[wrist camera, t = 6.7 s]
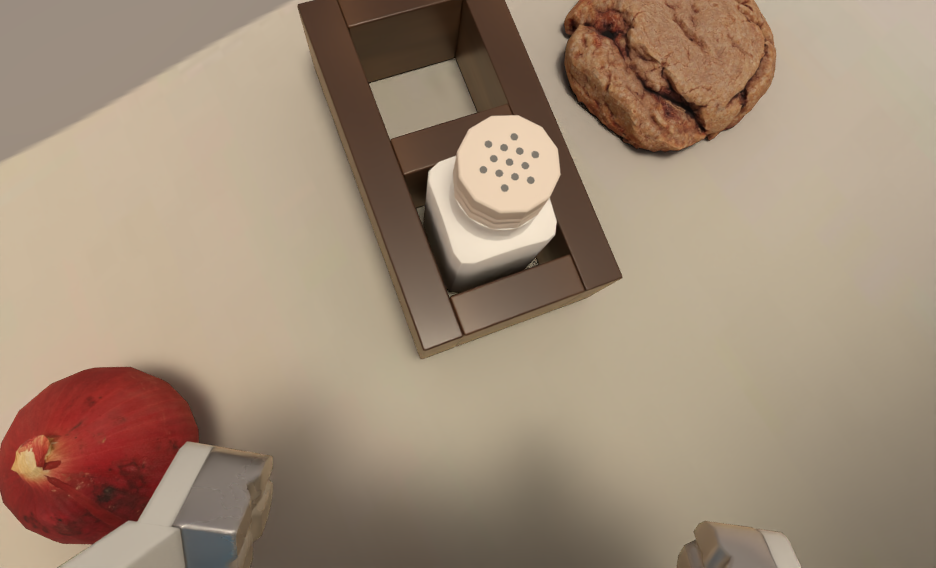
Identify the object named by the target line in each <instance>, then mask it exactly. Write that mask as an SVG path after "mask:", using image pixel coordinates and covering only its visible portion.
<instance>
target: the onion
mask: <svg viewBox="0 0 936 568" xmlns="http://www.w3.org/2000/svg"><path fill="white" fill-rule="evenodd" d="M187 441H188V442H194V443H199V431H198V427H197V425H196V422H195V420H194V417H193V415H192V412H191V410H190V407H189V405H188V403H187V402H186V401H185V400H184V399H183V398H182V397H181V396H180V395H179V393H178V392H177V391H176V390H175V389H174V388H173V387H172V386H171V385H170V384H169V383H167V382H166V381H164V380H162V379H159V378H157V377H154V376H152V375H149V374H147V373H144V372H142V371H139V370H137V369H134V368H132V367H100V368H91V369H87V370H83V371H81V372H78V373H76V374H73V375H71V376H69V377H66V378H64V379H62V380H59V381H57V382H55V383H52V384H51V385H49V386H48V387H47V388H45V389H44V390H43V391H42V392H41V393H39V394H38V395H37V396H36V397H35V398H34V399H32V400H31V401H30V402H29V403H28V404H27V405H25V406H24V407H23V408H22V409H21V410H20V411H19V412H18V414H17V415H16V417H15V419H14V421H13V423H12V424H11V426H10V428H9V430H8V432H7V434H6V435H5V437H4V439H3V441H2V443H1V448H0V492H1V496H2V500H3V503H4V504H5V505H6V506H7V508H8V509H9V510H10V511H11V512H12V513H13V514H14V516H15V517H16V518H17V519H18V520H19V521H20V522H21V524H22V525H23V526H24V527H25V528H26V529H28V530H31V531H33V532H35V533H37V534H40V535H42V536H44V537H46V538H49V539H51V540H53V541H56V542H59V543H62V544H94V543H95V542H97V541H98V540H100V539H101V538H103V537H104V536H106V535H107V534H109V533H110V532H112V531H113V530H115V529H116V528H118V527H119V526H121V525H122V524H124V523H125V522H127V521H138V519H139V518H140V516H141V514H142V512H143V511H144V509H145V507H146V506H147V504H148V502H149V500H150V499H151V497H152V495H153V494H154V492H155V490H156V488H157V487H158V485H159V483H160V481H161V480H162V478H163V476H164V475H165V473H166V471H167V469H168V468H169V466H170V464H171V463H172V461H173V459H174V457H175V456H176V454H177V452H178V451H179V449H180V448H181V447H182V446H183V445H184V444H185V443H186V442H187Z"/></svg>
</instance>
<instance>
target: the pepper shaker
mask: <svg viewBox="0 0 936 568" xmlns="http://www.w3.org/2000/svg"><path fill="white" fill-rule="evenodd" d="M560 175H561V174H560V164H559V155H558V149H557V147H556V146H555V144H554V143H553V142H552V140H551V139H550V137H549V136H548V135H547V133H546V132H545V130H544V129H543V128H542V127H541V126H539V125H537V124H535V123H533V122H531V121H529V120H527V119H525V118H523V117H521V116H519V115H508V116H490V117H489V118H487V119H485V120H484V121H482V122H480V123H478V124H477V125H475V126H473V127H472V128H470V129H469V130H468V132H467V134H466V136H465V137H464V139H463V141H462V143H461V145H460V147H459V149H458V151H457V154H456V156H454V157H451V158H448V159H446V160H443V161H440V162H438V163H437V164H436V165H435V166H434V167H433V168H432V169H431V170H430V171H429V172H428V181H427V192H426V203H425V213H424V228H425V231H426V234H427V237H428V240H429V243H430V245H431V248H432V251H433V254H434V257H435V260H436V263H437V266H438V269H439V271H440V274H441V277H442V279H443V282H444V284H445V286H446V287H447V288H448V289H449V290H450V291H453V292H463V291H466V290H469V289H472V288H475V287H478V286H480V285H483V284H486V283H489V282H492V281H494V280H497V279H500V278H503V277H506V276H508V275H511V274H514V273H517V272H520V271H522V270H524V269H525V268H526V267H527V266H528V265H529V264H530V263H531V262H532V260H533V259H534V258H535V257H536V256H537V255H538V254H539V253H540V251H541V250H542V249H543V248H544V247H545V246H546V245H547V244H548V242H549V241H550V240H551V239H552V238H553V237H554V236H555V233H556V223H557V221H556V217H555V214H554V211H553V207H552V204H551V201H550V196H551V194H552V192H553V190H554V188H555V185H556V183H557V181H558V179H559V177H560Z"/></svg>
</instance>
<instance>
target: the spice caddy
mask: <svg viewBox="0 0 936 568" xmlns="http://www.w3.org/2000/svg"><path fill="white" fill-rule="evenodd" d="M298 10H299V14H300V18H301V21H302V25H303V28H304V32H305V36H306V39H307V43H308V46H309V50H310V53H311V57H312V61H313V64H314V68H315V70H316V73H317V76H318V79H319V81H320V84H321V87H322V90H323V92H324V95H325V98H326V101H327V103H328V106H329V109H330V112H331V114H332V117H333V120H334V123H335V125H336V128H337V131H338V134H339V136H340V139H341V142H342V145H343V147H344V150H345V153H346V156H347V158H348V161H349V164H350V167H351V169H352V172H353V175H354V178H355V180H356V183H357V186H358V189H359V191H360V194H361V197H362V200H363V202H364V205H365V208H366V211H367V213H368V216H369V219H370V222H371V224H372V227H373V230H374V233H375V235H376V238H377V241H378V244H379V246H380V249H381V252H382V255H383V257H384V260H385V263H386V266H387V268H388V271H389V274H390V277H391V279H392V282H393V285H394V288H395V291H396V293H397V296H398V299H399V302H400V304H401V307H402V310H403V313H404V315H405V318H406V321H407V324H408V326H409V329H410V332H411V335H412V337H413V340H414V343H415V346H416V348H417V351H418V354H419V357H420V358H421V359H424V358H427V357H430V356H432V355H435V354H438V353H440V352H443V351H446V350H448V349H451V348H453V347H454V346H459V345H462V344H464V343H467V342H470V341H472V340H475V339H478V338H480V337H483V336H486V335H489V334H491V333H494V332H497V331H499V330H502V329H505V328H507V327H510V326H513V325H515V324H518V323H521V322H523V321H526V320H529V319H531V318H534V317H537V316H539V315H542V314H545V313H547V312H550V311H553V310H555V309H557V308H561V307H564V306H566V305H569V304H572V303H574V302H577V301H580V300H582V299H585V298H588V297H589V296H591V295H593V294H595V293H596V292H598V291H600V290H602V289H604V288H605V287H607V286H609V285H611V284H612V283H614V282H616V281H618V280H620V279H621V278H622V274H621V272H620V270H619V267H618V265H617V263H616V260H615V258H614V255H613V253H612V251H611V248H610V246H609V244H608V241H607V239H606V237H605V234H604V232H603V230H602V227H601V225H600V223H599V220H598V218H597V216H596V213H595V211H594V209H593V206H592V204H591V201H590V199H589V197H588V194H587V192H586V190H585V187H584V185H583V183H582V180H581V178H580V176H579V173H578V171H577V169H576V166H575V164H574V162H573V159H572V157H571V155H570V152H569V150H568V148H567V145H566V143H565V140H564V138H563V136H562V133H561V131H560V129H559V126H558V124H557V122H556V119H555V117H554V115H553V112H552V110H551V108H550V105H549V103H548V101H547V98H546V96H545V94H544V91H543V89H542V86H541V84H540V82H539V79H538V77H537V75H536V72H535V70H534V68H533V65H532V63H531V61H530V58H529V56H528V54H527V51H526V49H525V47H524V44H523V42H522V40H521V37H520V35H519V32H518V30H517V28H516V25H515V23H514V21H513V18H512V16H511V14H510V11H509V9H508V7H507V4H506V2H505V0H313V1H309V2H305V3H301V4H298ZM454 57H456V60H457V62H458V65H459V67H460V70H461V72H462V75H463V77H464V80H465V82H466V85H467V87H468V89H469V92H470V94H471V97H472V99H473V102H474V104H475V107H476V109H477V112H478V113H475V114H471V115H468V116H465V117H462V118H458V119H455V120H452V121H448V122H445V123H442V124H439V125H435V126H432V127H429V128H426V129H422V130H419V131H416V132H412V133H409V134H406V135H403V136H399V137H396V138H393V139H391V141H390V139H389V136H388V133H387V131H386V128H385V125H384V123H383V120H382V117H381V115H380V112H379V109H378V107H377V104H376V101H375V99H374V96H373V94H372V91H371V88H370V86H369V83H368V82H372V81H375V80H379V79H382V78H386V77H389V76H393V75H396V74H400V73H403V72H407V71H410V70H414V69H417V68H421V67H424V66H428V65H431V64H434V63H438V62H441V61H445V60H448V59H452V58H454ZM508 115H519V116H521V117H523V118H525V119H527V120H529V121H531V122H533V123H535V124H537V125H539V126H541V127H542V128H543V129H544V130H545V132H546V133H547V135H548V136H549V137H550V139H551V140H552V142H553V143H554V144H555V146H556V147H557V149H558V155H559V164H560V174H561V175H560V177H559V179H558V181H557V183H556V185H555V188H554V190H553V192H552V194H551V196H550V201H551V204H552V207H553V211H554V214H555V217H556V221H557V223H556V233H555V236H554V237H553V238H552V239H551V240H550V241H549V242H548V244H547V245H546V246H545V247H544V248H543V249H542V250H541V251H540V253H539V254H538V255H537V256H536V257H537V260H538V262H539V265H536V266H534V267H531V268H528V269H525V270H522V271H520V272H517V273H514V274H511V275H508V276H506V277H503V278H500V279H497V280H494V281H492V282H489V283H486V284H483V285H480V286H478V287H475V288H472V289H469V290H466V291H464V292H461V293H458V294H455V295H452V296H451V297H450V298H449V295H448V292H447V290H446V287H445V284H444V282H443V279H442V277H441V274H440V271H439V269H438V266H437V263H436V261H435V258H434V255H433V253H432V250H431V247H430V245H429V242H428V239H427V237H426V234H425V231H424V229H423V226H422V223H421V221H420V218H419V216H418V213H417V210H416V208H417V207H420V206H423V205H425V203H426V192H427V181H428V172H429V171H430V170H431V169H432V168H433V167H434V166H435V165H436V164H437V163H438V162H440V161H443V160H446V159H448V158H451V157H454V156H456V154H457V151H458V149H459V147H460V145H461V143H462V141H463V139H464V137H465V136H466V134H467V132H468V130H469V129H470V128H472V127H473V126H475V125H477V124H478V123H480V122H482V121H484V120H485V119H487V118H489V117H490V116H508Z"/></svg>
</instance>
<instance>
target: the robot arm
mask: <svg viewBox="0 0 936 568" xmlns="http://www.w3.org/2000/svg"><path fill="white" fill-rule="evenodd" d="M272 469H273V457H272V456H270V455H264V454H258V453H253V452H247V451H241V450H236V449H230V448H224V447H219V446H213V445H207V444H201V443H194V442H188V441H187V442H186V443H185V444H184V445H183V446H182V447H181V448H180V449H179V451H178V452H177V454H176V456H175V457H174V459H173V461H172V463H171V464H170V466H169V468H168V469H167V471H166V473H165V475H164V476H163V478H162V480H161V481H160V483H159V485H158V487H157V488H156V490H155V492H154V494H153V495H152V497H151V499H150V500H149V502H148V504H147V506H146V507H145V509H144V511H143V512H142V514H141V516H140V518H139V519H138V521H127V522H125V523H124V524H122V525H121V526H119V527H118V528H116V529H115V530H113V531H112V532H110V533H109V534H107V535H106V536H104V537H103V538H101V539H100V540H98V541H97V542H95V543H94V544H92V545H91V546H89V547H88V548H86V549H85V550H83V551H82V552H80V553H79V554H77V555H76V556H74V557H73V558H71V559H70V560H68V561H67V562H65V563H64V564H62V565H61V566H59V567H58V568H250V566H251V563H252V560H253V542H254V541H256V540H257V539H258V538H259V537H261V536H262V533H263V530H264V527H265V525H266V522H267V518H268V514H269V511H270V507H271V502H272V494H273V483H272V482H271V481H270V480H269V477H270V474H271V472H272ZM694 535H695V538H696V540H694V541H692V542H690V543H688V544H686V545H684V547H683V548H682V550H681V552H680V554H679V555H678V561H677V567H676V568H802V567H801V565H800V563H799V561H798V558H797V556H796V554H795V552H794V550H793V548H792V546H791V543H790V541H789V540H788V538H787V537H786V536H785V535H784V534H783V533H781V532H776V531H769V530H762V529H754V528H752V527H746V526H739V525H731V524H724V523H717V522H709V521H704V522H702V523H699V524H698V526H697V527H696V529H695V530H694Z"/></svg>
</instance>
